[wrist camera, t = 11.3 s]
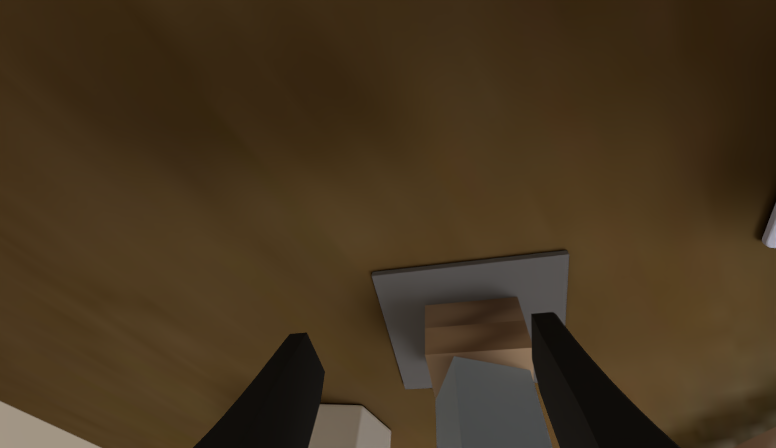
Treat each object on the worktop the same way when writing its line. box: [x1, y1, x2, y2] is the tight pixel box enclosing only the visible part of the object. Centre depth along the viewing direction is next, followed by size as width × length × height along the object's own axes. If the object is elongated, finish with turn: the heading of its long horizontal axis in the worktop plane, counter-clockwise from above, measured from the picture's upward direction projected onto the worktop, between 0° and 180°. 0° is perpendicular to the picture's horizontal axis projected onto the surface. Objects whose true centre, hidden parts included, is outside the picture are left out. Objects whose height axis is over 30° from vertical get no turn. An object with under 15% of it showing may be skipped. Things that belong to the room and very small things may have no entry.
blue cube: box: [436, 356, 552, 448], centre depth 20 cm, size 4×4×5 cm
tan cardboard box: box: [425, 297, 525, 328], centre depth 24 cm, size 6×6×2 cm
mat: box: [372, 250, 569, 389], centre depth 25 cm, size 12×12×1 cm
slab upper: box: [425, 320, 534, 399], centre depth 23 cm, size 6×6×2 cm
